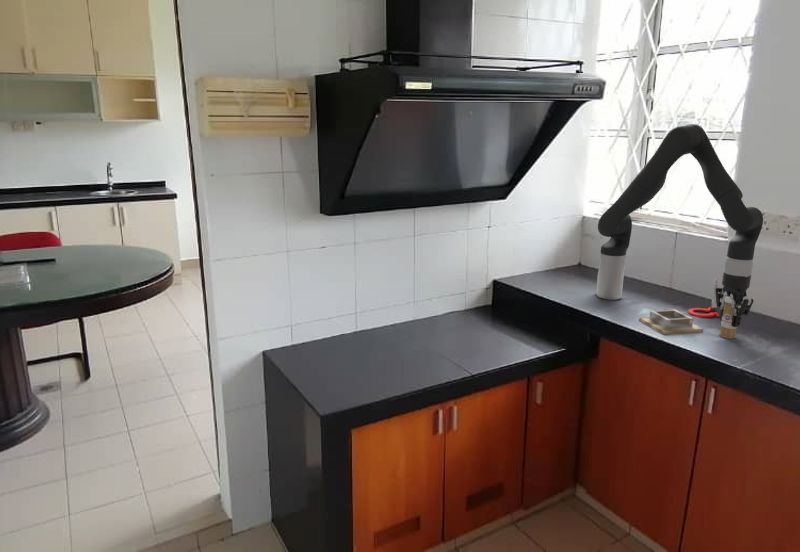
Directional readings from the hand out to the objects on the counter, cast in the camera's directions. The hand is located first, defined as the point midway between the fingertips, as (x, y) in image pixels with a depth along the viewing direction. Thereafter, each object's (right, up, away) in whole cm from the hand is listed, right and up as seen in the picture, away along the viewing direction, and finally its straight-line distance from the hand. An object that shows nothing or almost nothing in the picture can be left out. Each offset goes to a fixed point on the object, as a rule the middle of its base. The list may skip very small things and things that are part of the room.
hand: (729, 323), depth 182 cm
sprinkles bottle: (0, -4, +1) cm, 4 cm away
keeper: (-14, -2, +10) cm, 18 cm away
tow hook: (+3, +1, +22) cm, 23 cm away
